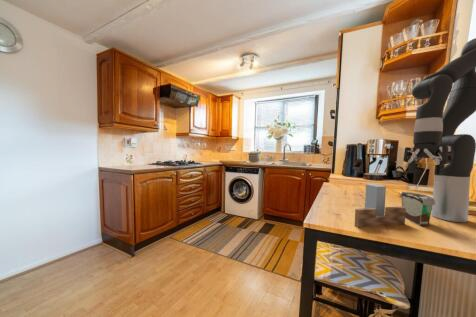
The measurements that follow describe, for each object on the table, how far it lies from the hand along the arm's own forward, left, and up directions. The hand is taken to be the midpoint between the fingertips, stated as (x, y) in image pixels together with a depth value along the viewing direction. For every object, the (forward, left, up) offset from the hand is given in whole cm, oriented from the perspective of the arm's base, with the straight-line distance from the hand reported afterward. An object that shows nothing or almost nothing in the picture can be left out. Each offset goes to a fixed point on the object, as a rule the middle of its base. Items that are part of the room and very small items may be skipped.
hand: (424, 174), depth 69 cm
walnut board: (+20, +1, -18) cm, 27 cm away
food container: (+2, +1, -18) cm, 18 cm away
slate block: (+16, -5, -18) cm, 25 cm away
